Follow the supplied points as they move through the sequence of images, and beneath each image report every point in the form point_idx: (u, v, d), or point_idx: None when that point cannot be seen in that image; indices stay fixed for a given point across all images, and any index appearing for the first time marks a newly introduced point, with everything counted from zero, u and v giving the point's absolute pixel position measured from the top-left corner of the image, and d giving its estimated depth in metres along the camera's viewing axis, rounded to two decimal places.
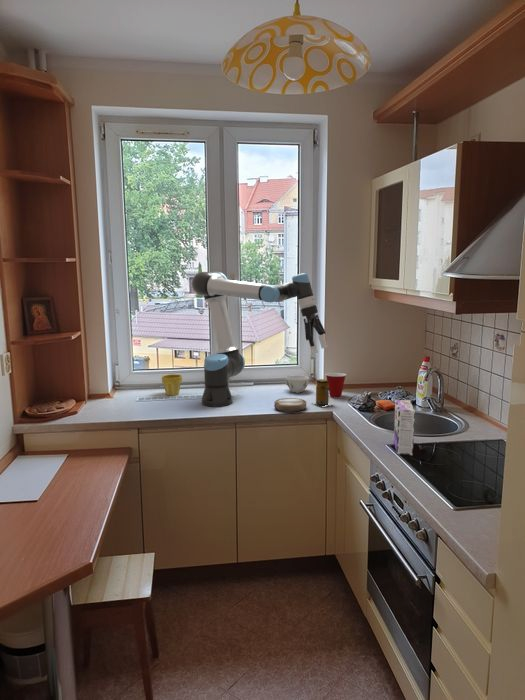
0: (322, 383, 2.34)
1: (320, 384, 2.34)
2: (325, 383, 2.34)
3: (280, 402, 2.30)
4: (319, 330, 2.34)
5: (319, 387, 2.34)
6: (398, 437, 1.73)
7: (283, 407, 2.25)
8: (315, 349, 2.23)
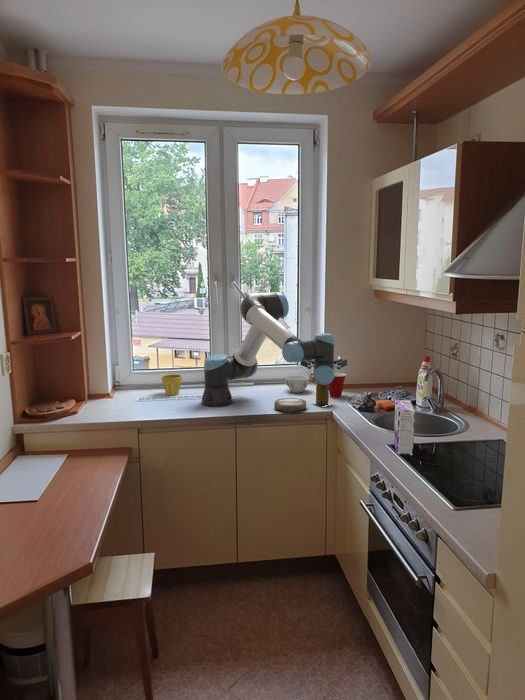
0: None
1: (320, 384, 2.34)
2: None
3: (280, 402, 2.30)
4: None
5: (319, 387, 2.34)
6: (398, 437, 1.73)
7: (283, 407, 2.25)
8: None
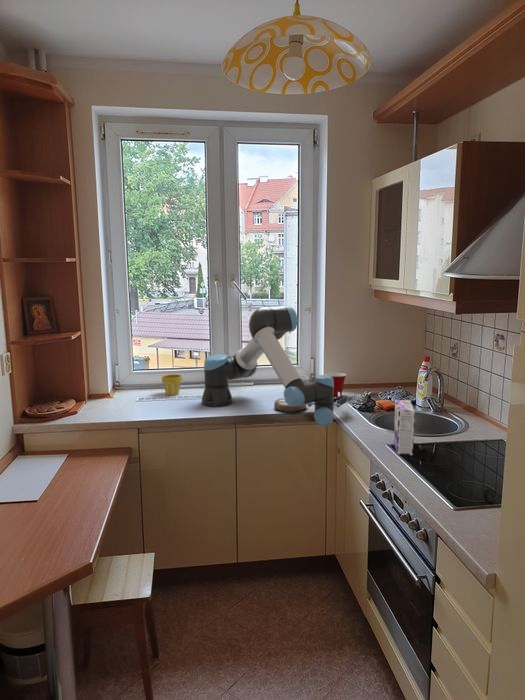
0: None
1: None
2: None
3: (280, 402, 2.30)
4: None
5: None
6: (398, 437, 1.73)
7: (283, 407, 2.25)
8: None
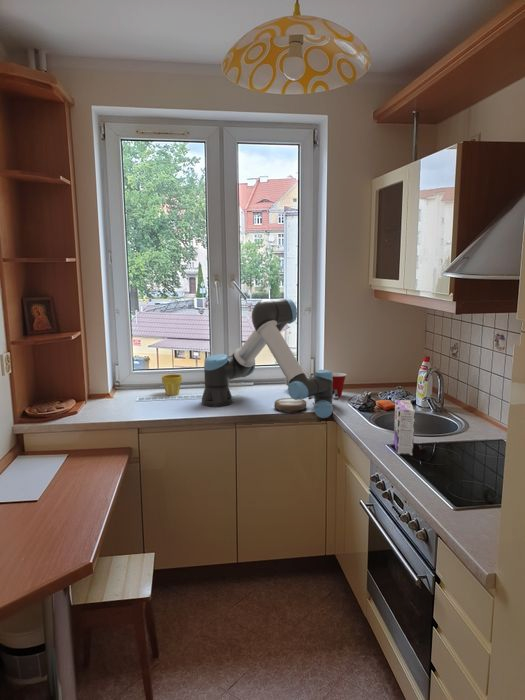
0: None
1: None
2: None
3: (280, 402, 2.30)
4: None
5: None
6: (398, 437, 1.73)
7: (283, 407, 2.25)
8: None
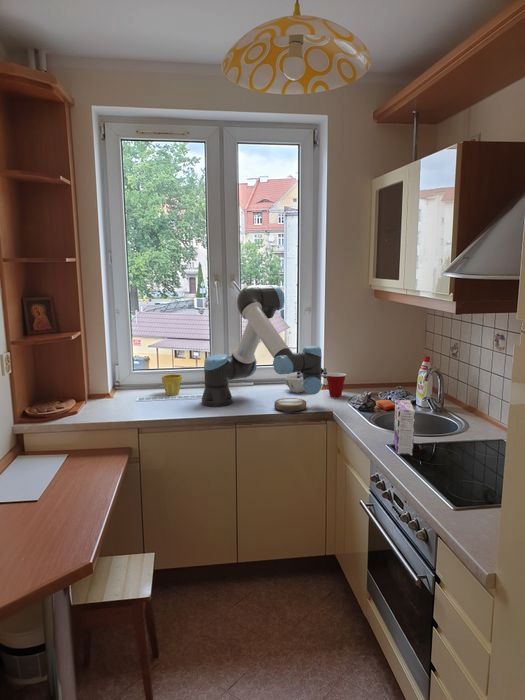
0: None
1: None
2: None
3: (280, 402, 2.30)
4: None
5: None
6: (398, 437, 1.73)
7: (283, 407, 2.25)
8: None
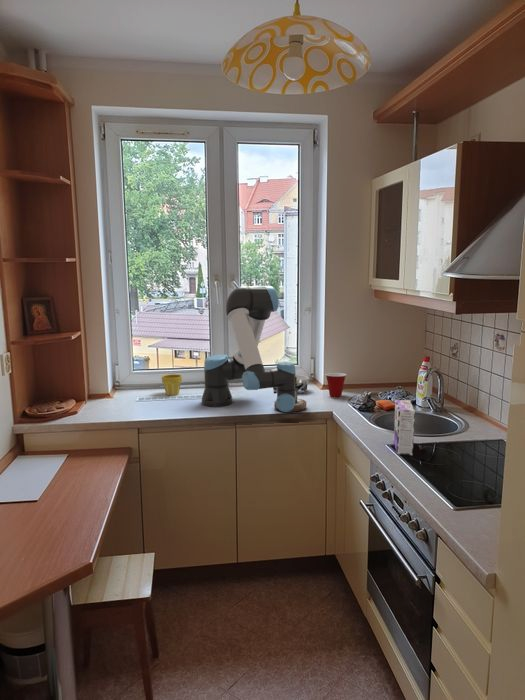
0: None
1: None
2: None
3: None
4: None
5: None
6: (398, 437, 1.73)
7: None
8: None
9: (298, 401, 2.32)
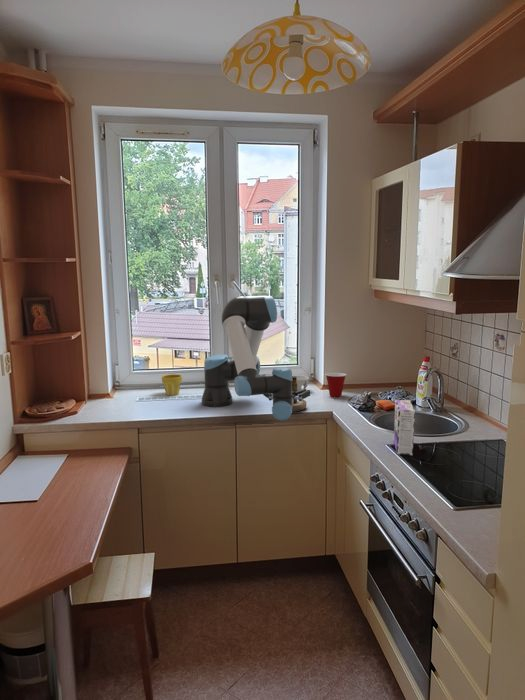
0: None
1: None
2: (293, 380, 2.28)
3: None
4: None
5: None
6: (398, 437, 1.73)
7: None
8: None
9: (298, 401, 2.32)
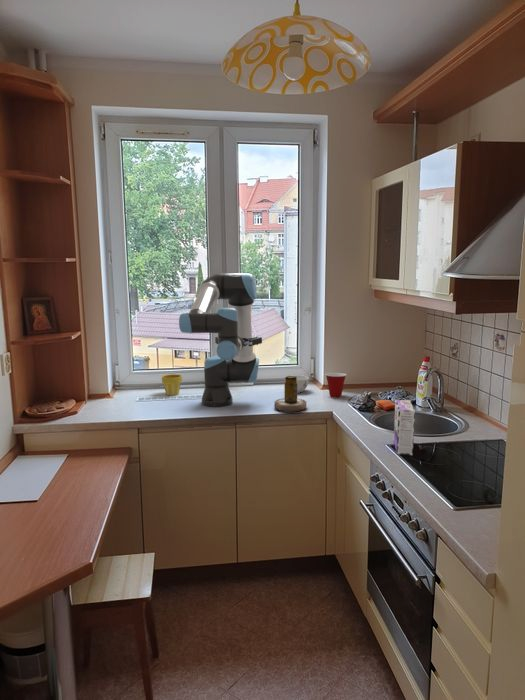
0: (290, 380, 2.27)
1: (288, 381, 2.28)
2: (293, 380, 2.28)
3: (280, 402, 2.30)
4: None
5: (287, 384, 2.28)
6: (398, 437, 1.73)
7: (283, 407, 2.25)
8: None
9: (298, 401, 2.32)
